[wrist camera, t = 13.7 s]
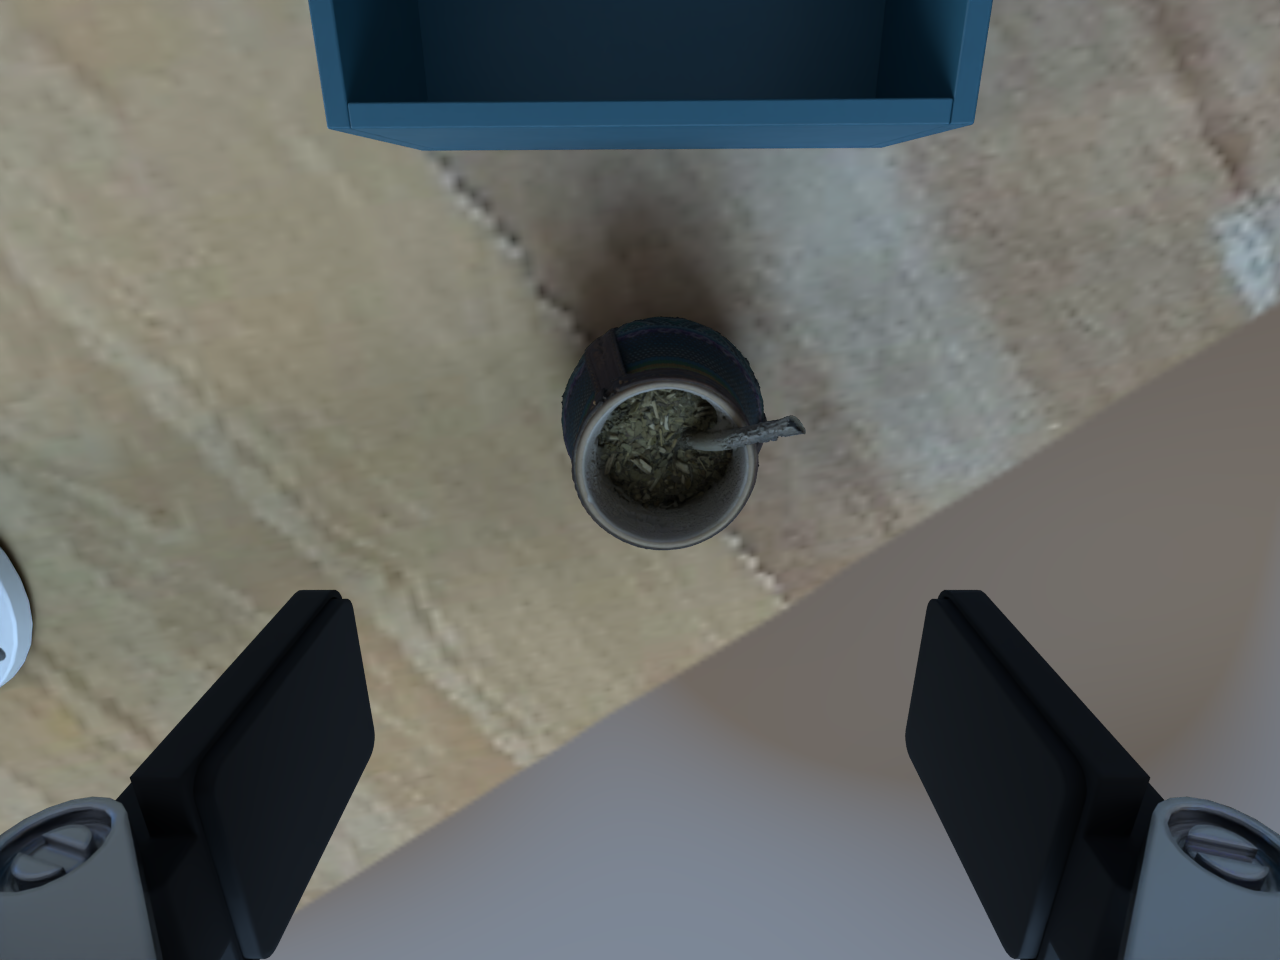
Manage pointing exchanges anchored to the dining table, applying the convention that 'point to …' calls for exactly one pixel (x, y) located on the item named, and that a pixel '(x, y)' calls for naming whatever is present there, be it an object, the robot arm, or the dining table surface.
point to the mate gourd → (665, 432)
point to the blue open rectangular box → (649, 72)
